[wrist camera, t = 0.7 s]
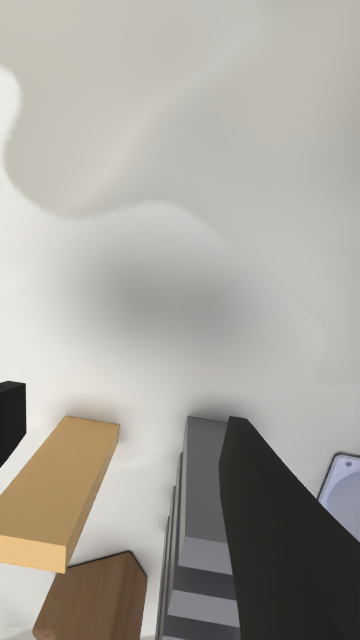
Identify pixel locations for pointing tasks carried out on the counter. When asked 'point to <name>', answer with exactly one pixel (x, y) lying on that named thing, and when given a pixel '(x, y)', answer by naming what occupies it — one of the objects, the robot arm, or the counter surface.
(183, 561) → the slate domino
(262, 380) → the counter surface
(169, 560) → the slate domino
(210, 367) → the counter surface
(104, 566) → the wooden block
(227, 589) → the slate domino
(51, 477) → the ochre domino
